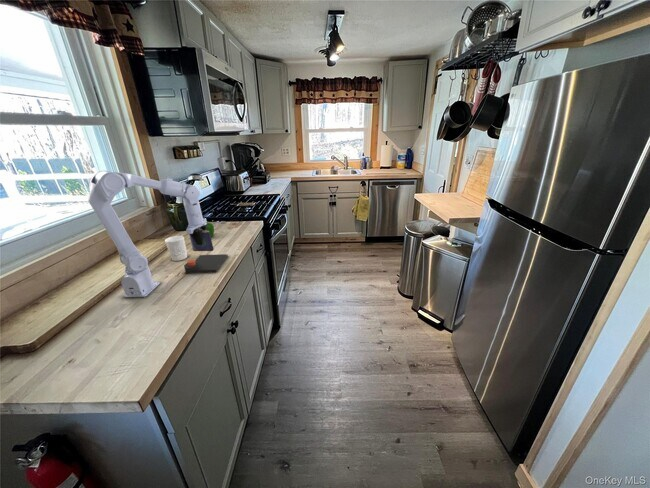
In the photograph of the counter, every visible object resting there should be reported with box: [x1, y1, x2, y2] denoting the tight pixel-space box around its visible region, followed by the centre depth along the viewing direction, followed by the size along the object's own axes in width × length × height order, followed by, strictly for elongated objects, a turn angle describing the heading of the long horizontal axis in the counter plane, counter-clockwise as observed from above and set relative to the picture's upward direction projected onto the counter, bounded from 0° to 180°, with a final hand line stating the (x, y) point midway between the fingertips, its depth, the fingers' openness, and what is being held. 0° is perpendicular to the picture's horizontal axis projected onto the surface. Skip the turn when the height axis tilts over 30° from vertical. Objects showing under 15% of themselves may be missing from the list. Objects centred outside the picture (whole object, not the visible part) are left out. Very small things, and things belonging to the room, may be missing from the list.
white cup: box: [164, 235, 188, 262], centre depth 122 cm, size 8×8×10 cm
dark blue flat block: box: [188, 227, 215, 252], centre depth 112 cm, size 9×3×11 cm, turn 86°
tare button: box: [186, 259, 196, 266], centre depth 111 cm, size 3×3×2 cm
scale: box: [183, 253, 229, 274], centre depth 116 cm, size 16×14×3 cm
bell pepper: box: [206, 220, 215, 239], centre depth 146 cm, size 8×8×10 cm
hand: (201, 243), depth 113 cm, fingers closed on dark blue flat block, 3 cm apart
